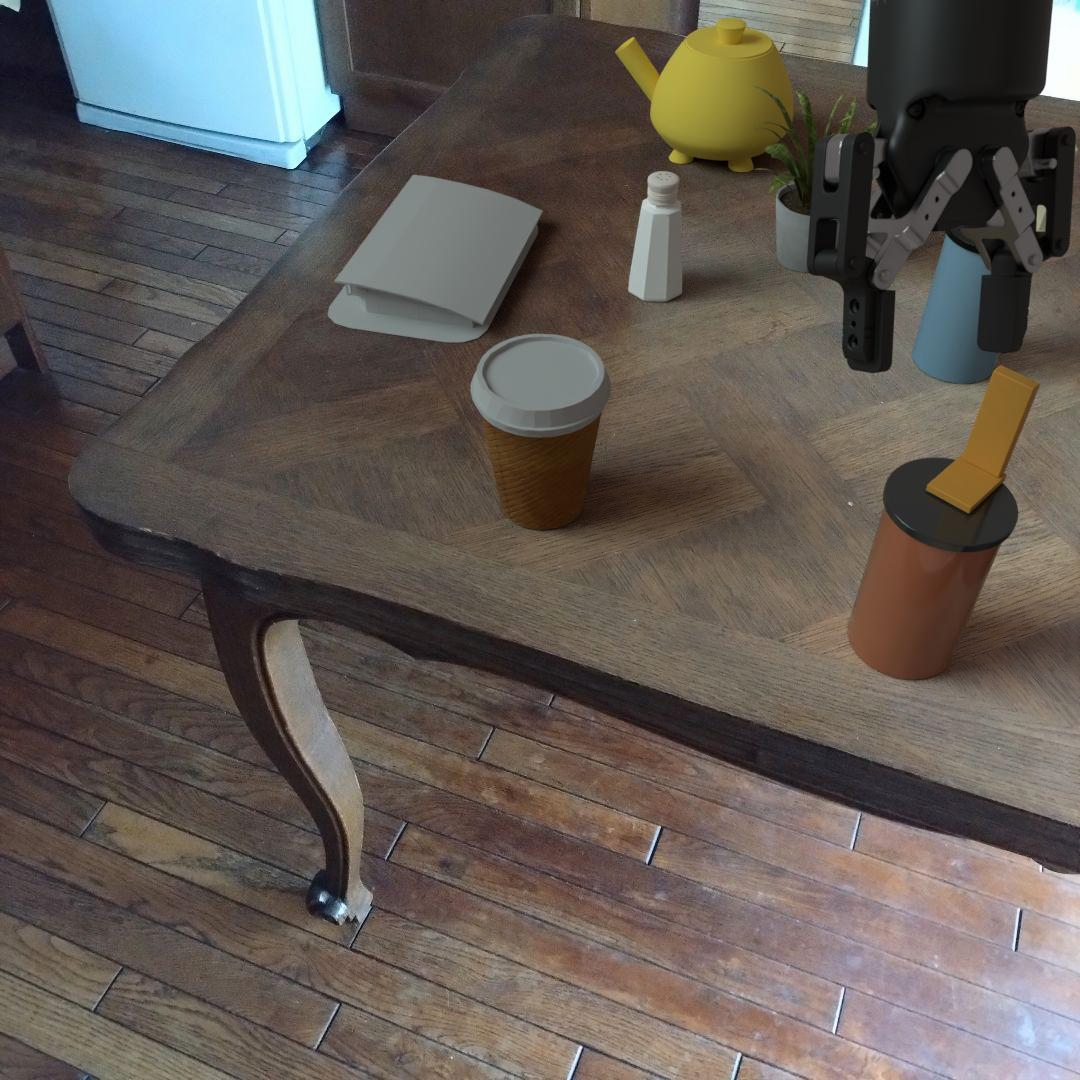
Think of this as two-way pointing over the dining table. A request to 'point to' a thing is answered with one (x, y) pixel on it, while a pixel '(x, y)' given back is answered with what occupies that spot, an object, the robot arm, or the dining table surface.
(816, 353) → the dining table surface
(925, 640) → the near tumbler
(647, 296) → the salt shaker
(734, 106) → the teapot
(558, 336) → the disposable coffee cup
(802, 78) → the dining table surface
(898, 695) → the dining table surface
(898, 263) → the robot arm
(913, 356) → the disc
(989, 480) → the near slider
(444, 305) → the book
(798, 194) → the house plant
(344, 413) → the dining table surface
